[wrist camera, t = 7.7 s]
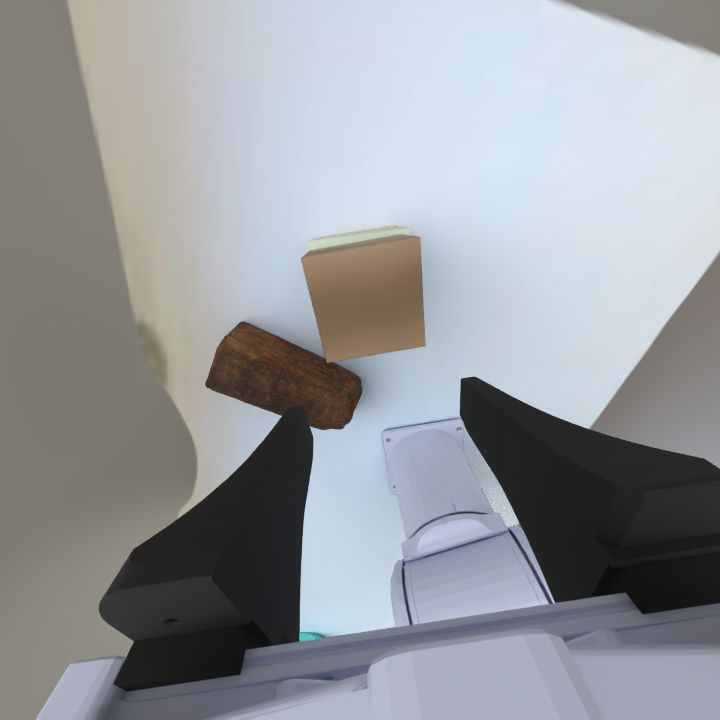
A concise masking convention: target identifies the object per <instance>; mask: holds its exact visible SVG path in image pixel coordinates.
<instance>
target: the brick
mask: <svg viewBox="0 0 720 720" xmlns="http://www.w3.org/2000/svg"><path fill="white" fill-rule="evenodd" d="M205 385H206V387H207V388H210V389H211V390H213V391H216V392H218V393H221V394H224V395H227V396H230V397H233V398H236V399H238V400H241V401H243V402H245V403H248V404H251V405H254V406H257V407H259V408H262V409H265V410H267V411H270V412H273V413H276V414H278V415H281V416H283V415H284V413H285V412H286V411H287V409H288V408H289V407H292V406H298V405H303V407H304V410H305V413H306V417H307V420H308V423H309V426H311V427H313V428H317V429H321V430H326V429H343V428H344V426H345V425H346V424H348V423H349V422H350V421H351V419H352V416H353V412H354V410H355V408H356V406H357V404H358V401H359V399H360V397H361V394H362V386H361V379H360V378H359V377H358V376H357V375H355V374H353V373H351V372H350V371H348V370H346V369H344V368H342V367H341V366H339V365H337V364H335V363H333V362H329V363H327V362H326V359H324V358H322V357H320V356H318V355H316V354H314V353H312V352H309V351H307V350H305V349H302V348H301V347H298V346H296V345H293V344H291V343H289V342H288V341H285V340H283V339H281V338H279V337H277V336H275V335H273V334H270V333H268V332H265V331H263V330H262V329H259V328H257V327H255V326H253V325H251V324H248V323H246V322H240V323H239V324H238V325H237V326H236V327H235V328H234V329H233V330H232V331H231V332H230V333H229V334H228V335H227V336H225V337H224V339H223V340H222V341H221V343H220V344H219V346H218V347H217V350H216V354H215V357H214V360H213V363H212V366H211V369H210V372H209V375H208V378H207V381H206V383H205Z"/></svg>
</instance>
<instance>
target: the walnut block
mask: <svg viewBox="0 0 720 720" xmlns="http://www.w3.org/2000/svg"><path fill="white" fill-rule="evenodd" d="M301 261H302V265H303V269H304V273H305V277H306V281H307V285H308V289H309V293H310V297H311V301H312V305H313V309H314V313H315V317H316V321H317V325H318V329H319V333H320V337H321V341H322V345H323V349H324V354H325V358H326V362H327V363H329V362H335V361H341V360H347V359H353V358H359V357H364V356H370V355H376V354H382V353H388V352H394V351H400V350H406V349H411V348H417V347H423V346H425V328H424V308H423V287H422V267H421V247H420V237H417V236H411V235H404V234H399V235H393V236H388V237H382V238H376V239H371V240H365V241H360V242H354V243H349V244H343V245H337V246H332V247H326V248H321V249H315V250H311V251H309V252H308V253H307V254H306V255H304V256H303V257H302V258H301Z"/></svg>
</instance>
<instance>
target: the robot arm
mask: <svg viewBox="0 0 720 720" xmlns="http://www.w3.org/2000/svg"><path fill="white" fill-rule="evenodd" d="M460 416H461V418H462V420H461V419H454V420H448V421H441V422H435V423H429V424H423V425H416V426H410V427H404V428H398V429H391V430H386V431H384V432H383V441H384V448H385V455H386V461H387V468H388V474H389V481H390V487H391V493H392V494H393V495H398V500H399V505H400V510H401V515H402V520H403V525H404V529H405V534H406V539H407V541H405V542H402V543H401V546H402V551H403V557H404V559H402V560H399V561H397V562H396V564H395V567H394V571H393V574H392V577H391V601H392V608H393V615H394V621H395V626H396V627H394V628H387V629H381V630H374V631H367V632H361V633H354V634H348V635H341V636H334V637H328V638H321V639H315V640H308V641H301V642H299V631H300V580H301V555H302V536H303V521H304V512H305V504H306V498H307V492H308V486H309V480H310V474H311V467H312V460H313V435H312V432H311V429H310V426H309V423H308V420H307V417H306V413H305V410H304V407H303V405H298V406H292V407H289V408H288V409H287V411H286V412H285V413H284V415H283V416H282V417H281V419H280V420H279V421H278V423H277V424H276V425H275V426H274V428H273V429H272V430H271V432H270V433H269V434H268V435H267V437H266V438H265V439H264V440H263V442H262V443H261V444H260V445H259V446H258V447H257V449H256V450H255V451H254V452H253V453H252V454H251V455H250V457H249V458H248V459H247V460H246V461H245V462H244V463H243V464H242V465H241V466H240V467H239V468H238V469H237V470H236V471H235V472H234V473H233V474H232V475H231V476H230V477H229V478H228V479H227V480H225V481H224V482H223V483H222V484H221V485H220V486H219V487H217V488H216V489H215V490H214V491H213V492H212V493H210V494H209V495H208V496H207V497H206V498H205V499H203V500H202V501H201V502H200V503H198V504H197V505H196V506H195V507H193V508H192V509H191V510H189V511H188V512H187V513H185V514H184V515H183V516H181V517H180V518H179V519H177V520H176V521H175V522H173V523H172V524H170V525H169V526H168V527H166V528H165V529H163V530H162V531H160V532H159V533H157V534H156V535H154V536H153V537H151V538H150V539H148V540H147V541H145V542H144V543H142V544H141V545H139V546H138V547H136V548H135V549H133V551H132V552H131V554H130V555H129V557H128V559H127V560H126V562H125V563H124V565H123V567H122V568H121V570H120V571H119V573H118V574H117V576H116V578H115V579H114V581H113V582H112V584H111V585H110V587H109V589H108V590H107V592H106V593H105V595H104V597H103V598H102V600H101V601H100V604H99V612H100V614H101V617H102V618H103V619H104V620H105V621H106V622H107V623H108V624H109V625H111V626H112V627H114V628H115V629H117V630H118V631H120V632H121V633H123V634H124V635H126V636H127V637H128V638H130V639H131V640H133V641H134V643H133V645H132V647H131V649H130V651H129V653H128V655H127V657H122V656H107V657H101V658H95V659H88V660H81V661H75V662H73V663H71V664H70V665H69V666H68V668H67V670H66V671H65V673H64V674H63V676H62V678H61V679H60V681H59V683H58V684H57V686H56V687H55V689H54V691H53V693H52V694H51V696H50V697H49V699H48V700H47V702H46V704H45V706H44V707H43V709H42V710H41V712H40V713H39V715H38V717H37V718H36V720H720V469H719V468H718V467H716V466H715V465H713V464H712V463H710V462H709V461H707V460H705V459H703V458H698V457H694V456H689V455H684V454H680V453H675V452H670V451H666V450H661V449H657V448H653V447H648V446H644V445H641V444H637V443H633V442H629V441H626V440H622V439H618V438H615V437H611V436H608V435H605V434H602V433H599V432H596V431H593V430H590V429H587V428H584V427H581V426H578V425H575V424H572V423H570V422H567V421H565V420H562V419H560V418H557V417H555V416H552V415H550V414H547V413H545V412H543V411H541V410H538V409H536V408H534V407H532V406H530V405H528V404H526V403H524V402H522V401H520V400H518V399H516V398H514V397H512V396H510V395H508V394H506V393H504V392H503V391H501V390H499V389H497V388H495V387H493V386H492V385H490V384H488V383H486V382H484V381H482V380H481V379H479V378H477V377H468V378H462V379H461V391H460ZM464 425H465V427H466V429H467V431H468V433H469V435H470V437H471V438H472V440H473V442H474V443H475V445H476V446H477V448H478V450H479V451H480V453H481V454H482V456H483V457H484V459H485V461H486V462H487V464H488V465H489V467H490V468H491V470H492V472H493V473H494V475H495V476H496V478H497V480H498V481H499V483H500V485H501V487H502V488H503V490H504V492H505V494H506V496H507V498H508V500H509V502H510V504H511V506H512V508H513V510H514V512H515V514H516V517H517V519H518V521H519V523H520V525H521V527H522V529H523V530H522V529H521V528H520V527H518V526H517V525H513V526H510V527H508V529H507V527H506V525H505V523H504V522H503V520H502V518H501V516H500V514H499V513H494V511H493V509H492V507H491V505H490V503H489V501H488V499H487V497H486V496H485V494H484V492H483V490H482V488H481V486H480V484H479V482H478V480H477V479H476V477H475V475H474V473H473V471H472V469H471V467H470V465H469V463H468V462H467V460H466V458H465V456H464V454H463V435H464ZM458 427H459V428H458ZM388 438H390V439H388Z"/></svg>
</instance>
